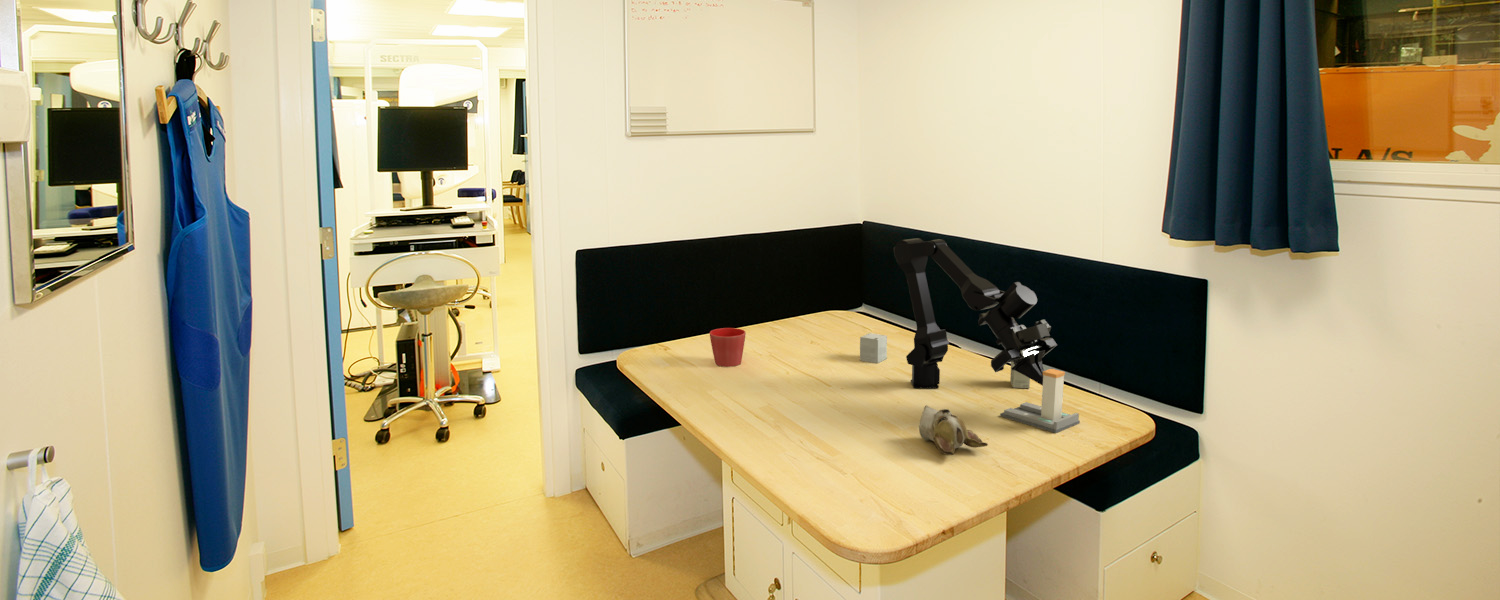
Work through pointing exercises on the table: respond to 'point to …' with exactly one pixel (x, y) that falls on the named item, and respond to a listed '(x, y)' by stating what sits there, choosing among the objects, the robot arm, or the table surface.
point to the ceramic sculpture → (946, 431)
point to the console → (1040, 418)
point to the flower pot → (727, 346)
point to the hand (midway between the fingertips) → (1045, 384)
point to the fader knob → (1052, 394)
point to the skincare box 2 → (1019, 379)
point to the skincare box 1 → (873, 348)
